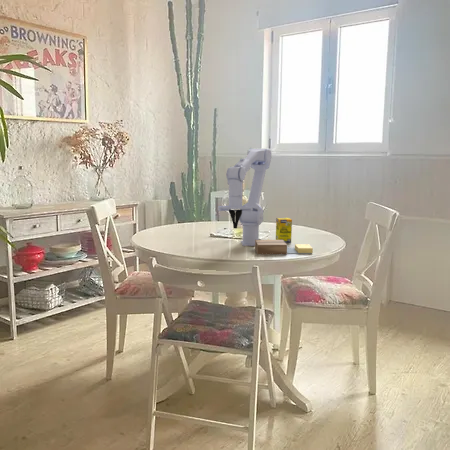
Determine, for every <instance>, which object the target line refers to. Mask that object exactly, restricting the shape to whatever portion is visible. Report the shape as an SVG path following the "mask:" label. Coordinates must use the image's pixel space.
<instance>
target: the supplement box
mask: <svg viewBox="0 0 450 450" xmlns="http://www.w3.org/2000/svg"><path fill="white" fill-rule="evenodd" d="M275 220H276V222H275V240H283V241H284V242H285V243H286V244H287V243H288V244H289V243H292V235H293V234H292V230H293V219H292V218H290V217H276V219H275Z"/></svg>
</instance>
